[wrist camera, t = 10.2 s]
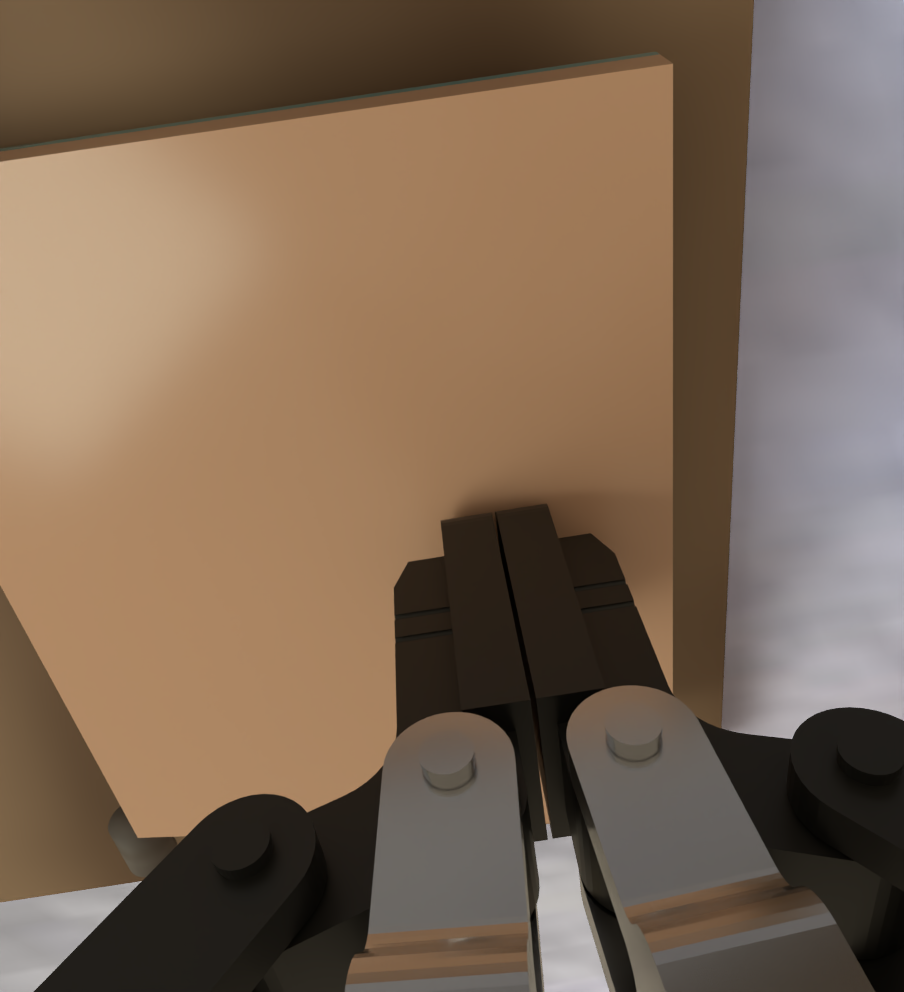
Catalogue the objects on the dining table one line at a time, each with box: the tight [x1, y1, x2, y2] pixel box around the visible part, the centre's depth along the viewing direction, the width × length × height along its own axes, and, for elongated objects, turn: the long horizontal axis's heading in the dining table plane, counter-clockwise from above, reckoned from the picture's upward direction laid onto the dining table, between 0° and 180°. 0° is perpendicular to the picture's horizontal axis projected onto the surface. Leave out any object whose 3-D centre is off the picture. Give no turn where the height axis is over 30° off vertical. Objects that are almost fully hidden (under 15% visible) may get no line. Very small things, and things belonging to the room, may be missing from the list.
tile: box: [0, 52, 673, 838], centre depth 13 cm, size 10×12×1 cm
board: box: [0, 0, 754, 902], centre depth 14 cm, size 24×18×3 cm
